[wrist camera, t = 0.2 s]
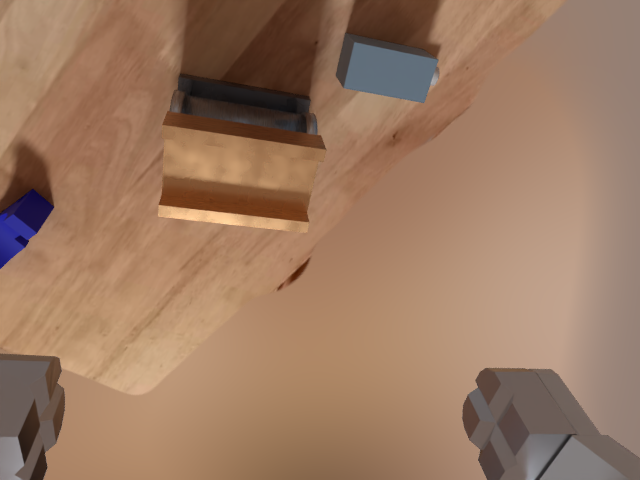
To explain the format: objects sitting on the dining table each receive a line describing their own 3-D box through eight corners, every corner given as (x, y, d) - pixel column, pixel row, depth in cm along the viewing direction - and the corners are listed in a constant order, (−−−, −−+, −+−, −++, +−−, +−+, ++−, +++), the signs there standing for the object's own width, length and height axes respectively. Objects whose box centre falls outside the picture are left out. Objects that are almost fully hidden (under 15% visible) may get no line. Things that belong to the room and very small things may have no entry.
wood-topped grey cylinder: (180, 73, 51) (162, 117, 39) (308, 96, 54) (327, 143, 42) (174, 160, 56) (157, 222, 44) (292, 176, 59) (305, 237, 47)
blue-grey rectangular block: (345, 32, 51) (354, 42, 47) (436, 52, 53) (453, 63, 49) (335, 75, 53) (343, 88, 49) (423, 92, 56) (438, 105, 52)
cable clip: (-5, 265, 60) (-27, 295, 55) (-38, 241, 58) (-64, 271, 53) (65, 215, 58) (48, 242, 53) (33, 188, 56) (13, 214, 51)
